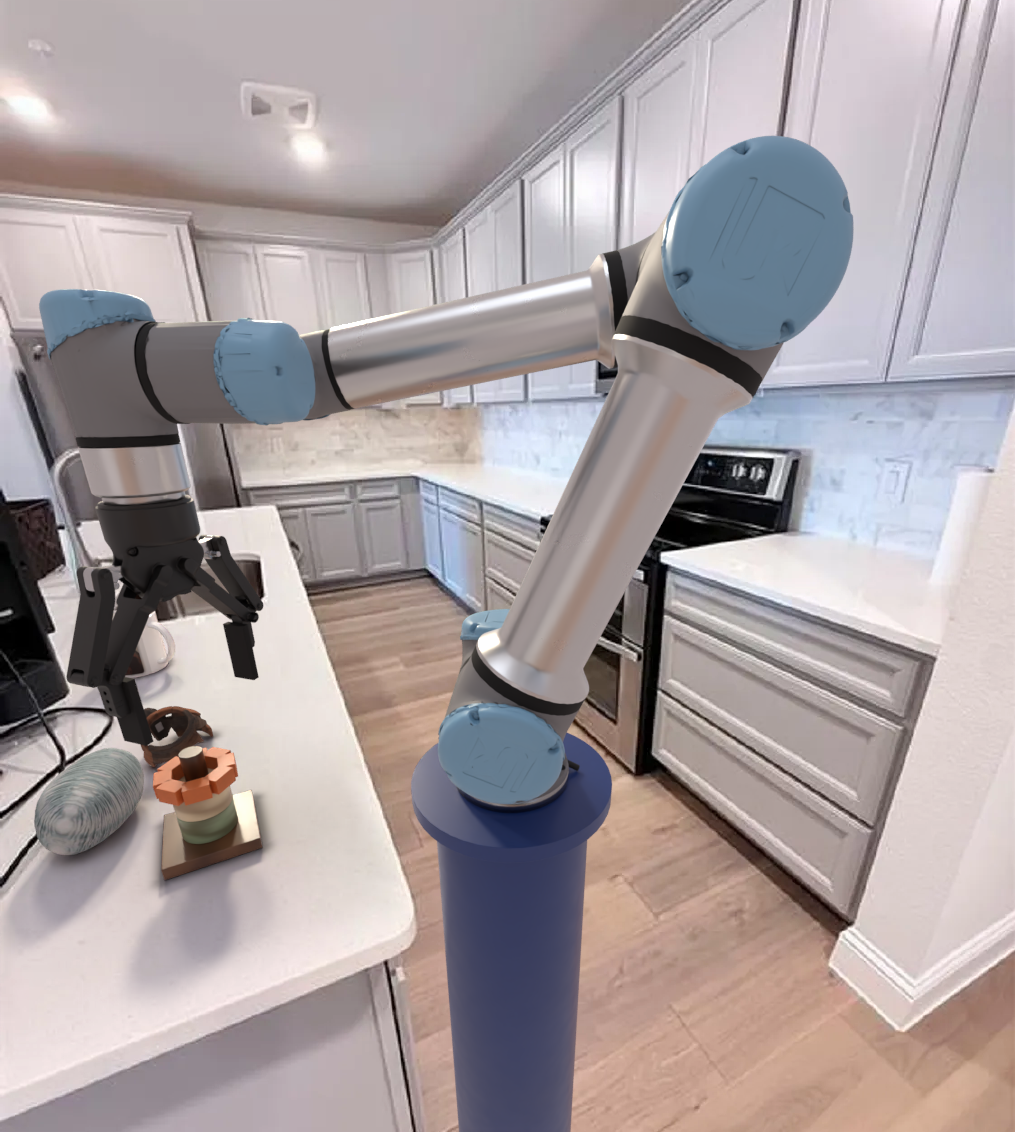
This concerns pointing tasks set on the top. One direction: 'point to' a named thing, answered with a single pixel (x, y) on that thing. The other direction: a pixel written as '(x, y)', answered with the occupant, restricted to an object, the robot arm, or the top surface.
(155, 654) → the mug
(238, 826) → the stacking post
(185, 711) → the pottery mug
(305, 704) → the top surface
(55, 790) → the streaked grey ellipsoid
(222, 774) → the terracotta ring
